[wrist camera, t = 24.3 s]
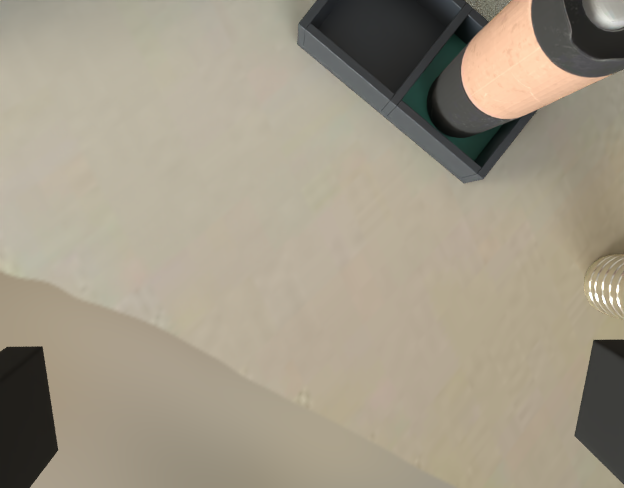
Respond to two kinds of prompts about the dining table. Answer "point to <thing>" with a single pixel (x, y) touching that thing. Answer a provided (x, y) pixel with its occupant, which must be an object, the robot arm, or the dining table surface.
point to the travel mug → (527, 62)
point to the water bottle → (606, 285)
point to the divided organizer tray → (405, 68)
